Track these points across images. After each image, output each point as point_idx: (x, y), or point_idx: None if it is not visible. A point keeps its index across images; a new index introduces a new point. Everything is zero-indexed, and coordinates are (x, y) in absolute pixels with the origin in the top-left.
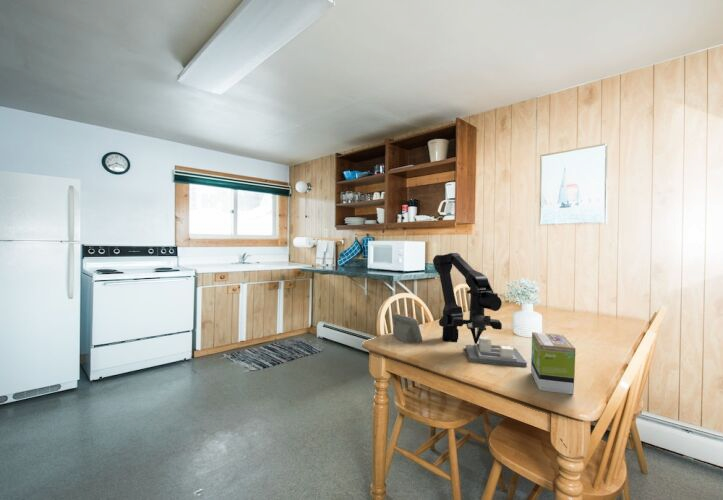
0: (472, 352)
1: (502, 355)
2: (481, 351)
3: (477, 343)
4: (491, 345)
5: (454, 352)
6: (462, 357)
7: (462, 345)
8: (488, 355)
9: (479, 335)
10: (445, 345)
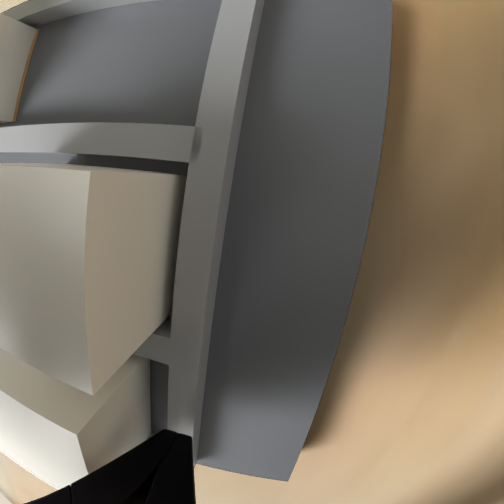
0: (301, 207)
1: (7, 20)
2: (162, 145)
3: None
4: None
5: (467, 327)
6: (439, 154)
7: (290, 500)
8: (105, 106)
9: (60, 500)
10: (440, 478)
